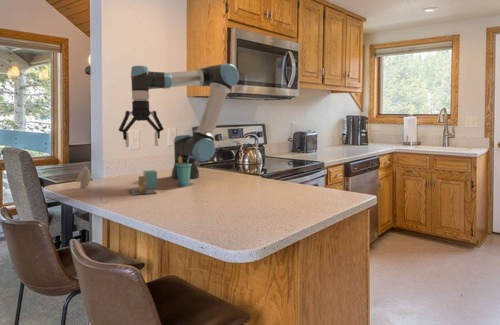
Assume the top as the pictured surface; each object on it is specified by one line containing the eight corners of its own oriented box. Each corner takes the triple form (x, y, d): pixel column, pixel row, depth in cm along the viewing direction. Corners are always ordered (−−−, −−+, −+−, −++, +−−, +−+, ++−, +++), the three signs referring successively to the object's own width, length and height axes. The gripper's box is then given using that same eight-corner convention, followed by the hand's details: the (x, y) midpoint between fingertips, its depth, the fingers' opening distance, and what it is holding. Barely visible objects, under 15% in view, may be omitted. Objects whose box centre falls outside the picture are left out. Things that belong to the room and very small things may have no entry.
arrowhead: (78, 189, 179) (77, 167, 177) (75, 188, 180) (74, 167, 179) (94, 187, 184) (93, 166, 183) (92, 186, 186) (91, 165, 185)
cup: (200, 186, 188) (200, 155, 186) (187, 188, 182) (187, 156, 181) (182, 183, 198) (182, 153, 196) (169, 184, 192) (169, 154, 190)
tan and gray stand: (151, 189, 179) (151, 174, 178) (156, 193, 170) (156, 177, 169) (128, 191, 175) (128, 175, 174) (132, 195, 166) (132, 179, 165)
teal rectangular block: (154, 185, 189) (154, 170, 188) (157, 187, 184) (156, 171, 184) (143, 186, 187) (143, 170, 186) (146, 188, 182) (145, 172, 181)
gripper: (164, 101, 190) (165, 144, 193) (110, 100, 178) (112, 146, 180) (169, 100, 183) (170, 145, 186) (114, 99, 171) (116, 148, 174)
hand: (142, 146), depth 183 cm, fingers open, 13 cm apart
